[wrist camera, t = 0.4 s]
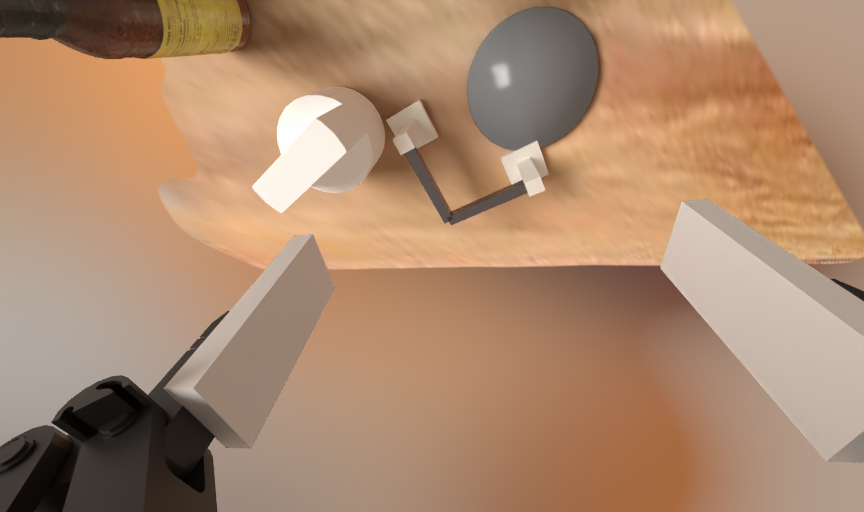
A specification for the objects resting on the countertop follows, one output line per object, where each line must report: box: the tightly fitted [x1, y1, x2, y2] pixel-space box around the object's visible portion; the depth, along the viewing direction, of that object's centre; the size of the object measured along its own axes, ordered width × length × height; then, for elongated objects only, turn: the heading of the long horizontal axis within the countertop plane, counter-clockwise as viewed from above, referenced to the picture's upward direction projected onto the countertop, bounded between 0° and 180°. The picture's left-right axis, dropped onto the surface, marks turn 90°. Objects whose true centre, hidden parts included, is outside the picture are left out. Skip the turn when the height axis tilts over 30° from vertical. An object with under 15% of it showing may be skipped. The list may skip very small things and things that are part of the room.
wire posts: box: [386, 100, 549, 197], centre depth 31 cm, size 18×6×6 cm, turn 73°
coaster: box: [467, 7, 598, 151], centre depth 30 cm, size 12×12×1 cm
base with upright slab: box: [252, 86, 385, 213], centre depth 29 cm, size 9×9×12 cm
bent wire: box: [405, 147, 528, 225], centre depth 30 cm, size 10×10×1 cm
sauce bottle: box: [0, 0, 251, 59], centre depth 21 cm, size 6×6×20 cm
